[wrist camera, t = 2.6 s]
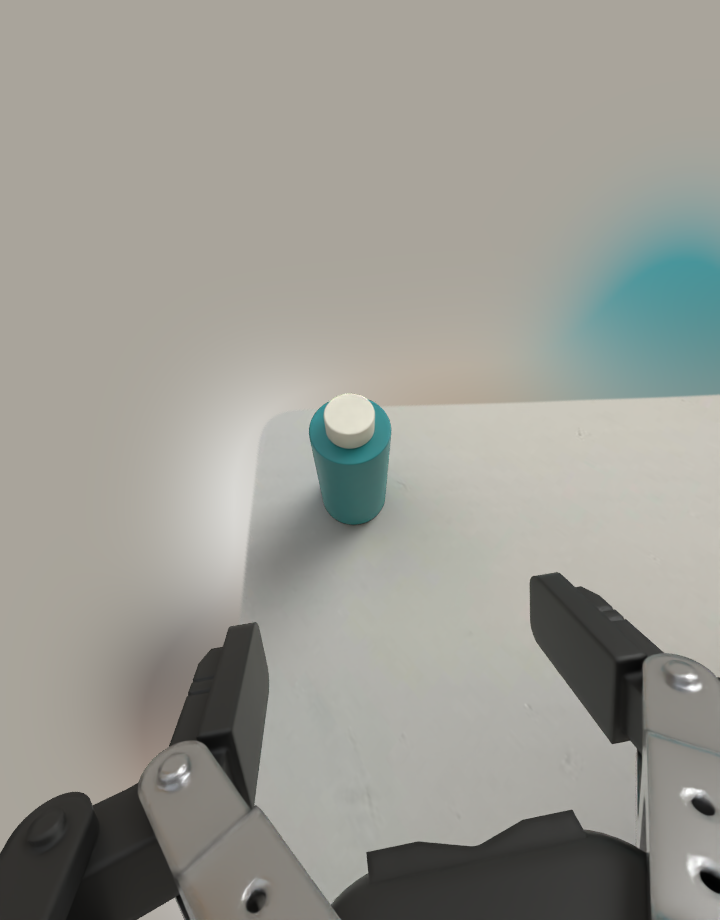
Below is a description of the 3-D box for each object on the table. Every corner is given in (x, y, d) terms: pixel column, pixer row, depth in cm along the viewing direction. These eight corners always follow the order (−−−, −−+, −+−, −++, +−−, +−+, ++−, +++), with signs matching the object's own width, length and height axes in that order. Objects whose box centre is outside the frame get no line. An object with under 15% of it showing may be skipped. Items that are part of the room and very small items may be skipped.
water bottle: (341, 536, 29) (330, 465, 20) (312, 485, 31) (291, 400, 22) (396, 506, 30) (409, 426, 21) (365, 458, 32) (365, 367, 23)
